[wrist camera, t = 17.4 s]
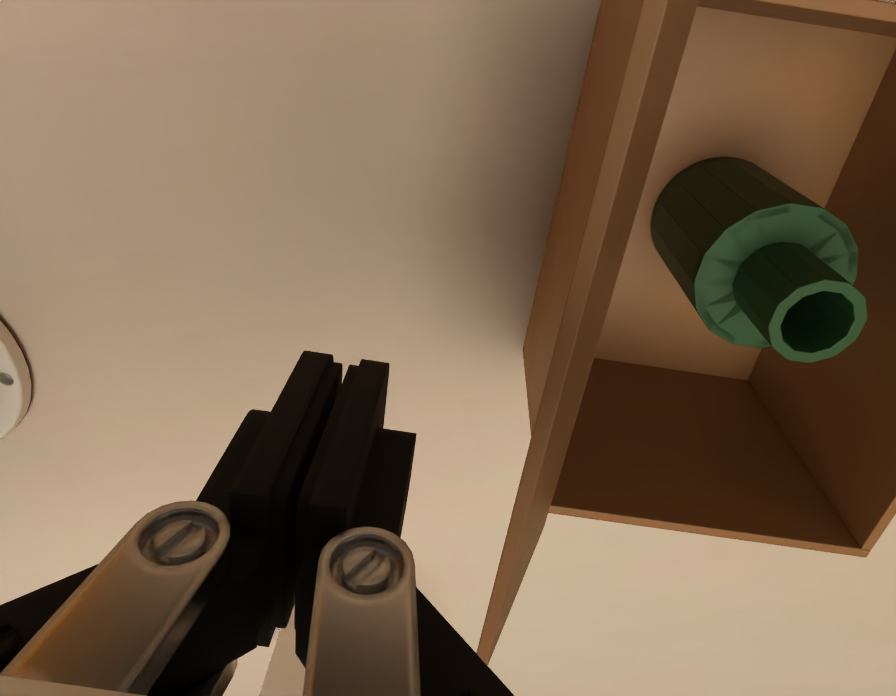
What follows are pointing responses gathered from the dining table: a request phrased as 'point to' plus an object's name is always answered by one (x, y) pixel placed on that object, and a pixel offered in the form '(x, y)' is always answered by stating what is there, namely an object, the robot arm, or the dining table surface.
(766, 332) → the bottle
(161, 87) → the dining table surface
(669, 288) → the shoebox
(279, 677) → the potion bottle
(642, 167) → the flap
